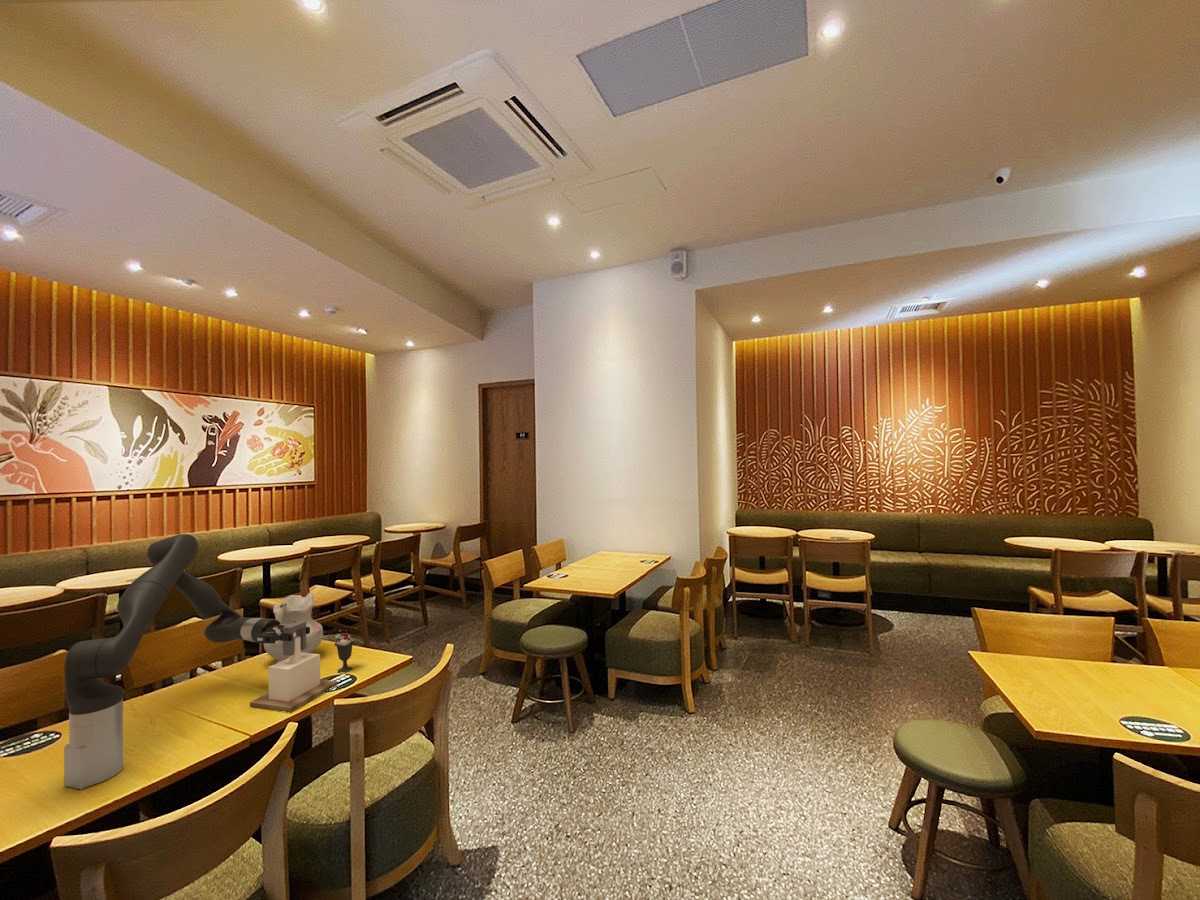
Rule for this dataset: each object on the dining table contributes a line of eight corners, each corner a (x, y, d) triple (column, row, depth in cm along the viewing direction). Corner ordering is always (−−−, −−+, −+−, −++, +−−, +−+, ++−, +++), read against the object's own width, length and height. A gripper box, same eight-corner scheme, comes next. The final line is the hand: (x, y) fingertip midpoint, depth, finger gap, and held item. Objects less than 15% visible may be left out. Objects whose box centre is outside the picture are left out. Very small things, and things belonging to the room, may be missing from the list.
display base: (290, 712, 147) (290, 707, 147) (249, 706, 151) (249, 702, 151) (337, 685, 164) (337, 681, 164) (299, 681, 168) (299, 676, 168)
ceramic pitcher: (315, 671, 178) (320, 603, 180) (252, 677, 171) (258, 606, 173) (324, 650, 198) (329, 589, 200) (268, 654, 191) (274, 591, 193)
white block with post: (288, 701, 151) (288, 645, 151) (268, 698, 153) (268, 643, 153) (320, 684, 162) (319, 631, 163) (301, 681, 164) (300, 630, 165)
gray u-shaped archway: (290, 656, 154) (290, 627, 155) (283, 655, 155) (282, 627, 155) (306, 648, 160) (306, 621, 160) (299, 647, 161) (298, 620, 161)
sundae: (346, 674, 173) (346, 632, 173) (330, 673, 174) (330, 631, 174) (359, 666, 179) (358, 626, 179) (343, 665, 180) (343, 625, 181)
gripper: (239, 626, 155) (280, 630, 150) (280, 612, 169) (318, 615, 164) (239, 649, 155) (281, 654, 150) (280, 633, 169) (319, 637, 164)
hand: (300, 634), depth 157 cm, fingers closed on gray u-shaped archway, 6 cm apart
